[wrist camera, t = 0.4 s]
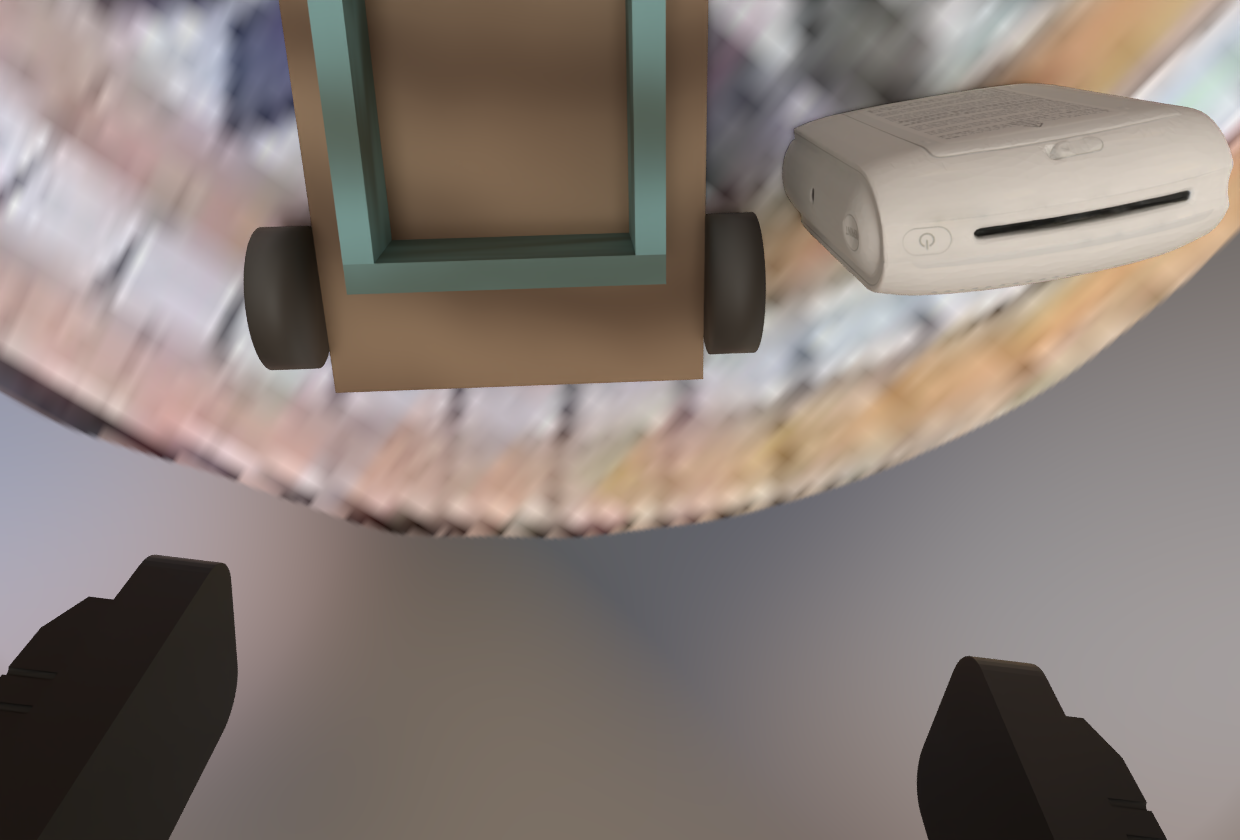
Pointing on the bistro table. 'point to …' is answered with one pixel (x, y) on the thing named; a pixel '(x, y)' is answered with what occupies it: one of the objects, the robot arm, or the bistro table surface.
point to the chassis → (502, 199)
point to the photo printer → (1005, 186)
